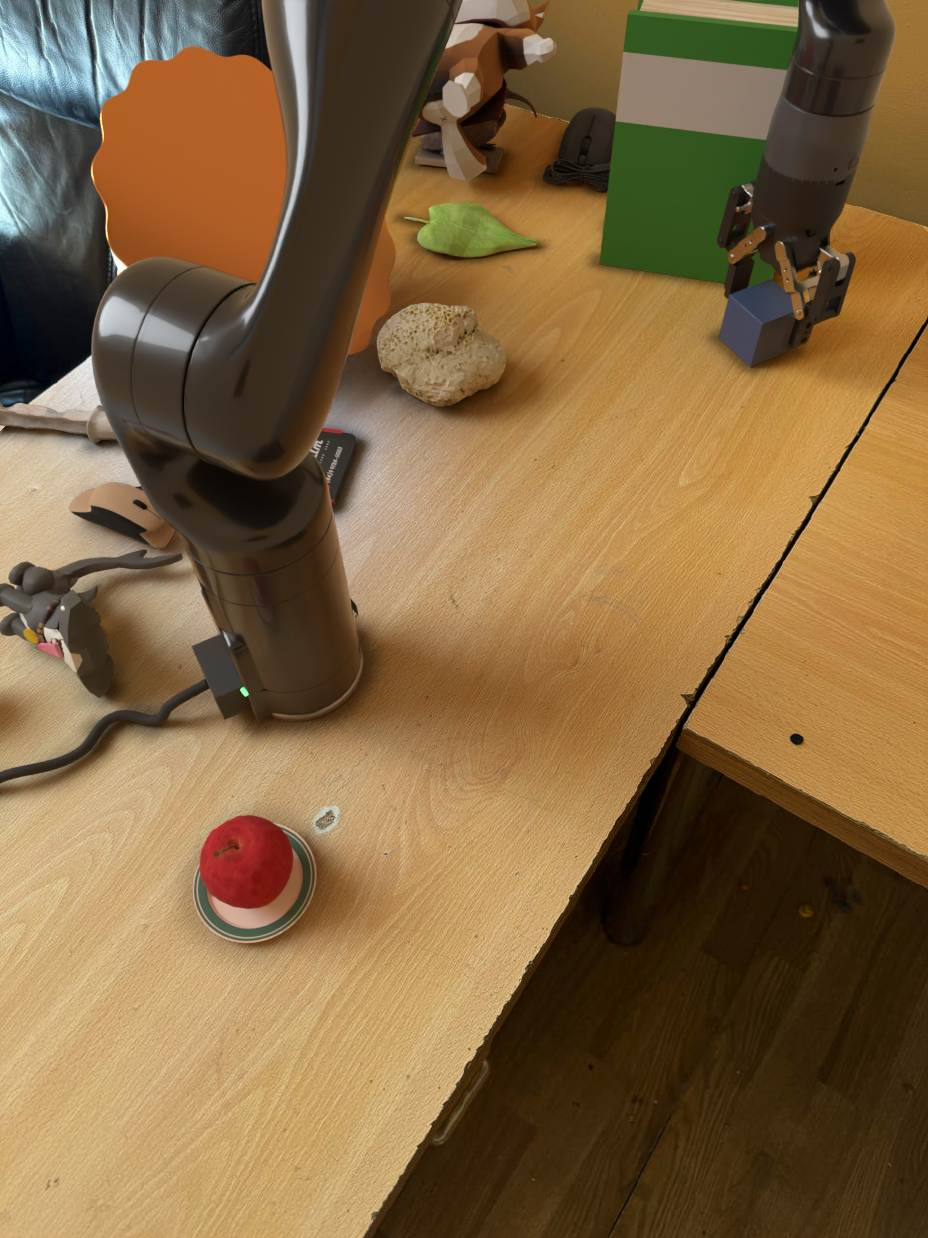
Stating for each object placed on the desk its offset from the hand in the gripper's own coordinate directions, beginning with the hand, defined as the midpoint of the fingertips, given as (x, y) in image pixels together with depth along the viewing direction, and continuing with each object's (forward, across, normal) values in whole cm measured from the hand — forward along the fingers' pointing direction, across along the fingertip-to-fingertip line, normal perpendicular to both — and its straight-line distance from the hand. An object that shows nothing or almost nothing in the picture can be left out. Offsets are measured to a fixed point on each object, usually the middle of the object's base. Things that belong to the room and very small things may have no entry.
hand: (762, 321), depth 89 cm
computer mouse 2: (+3, -37, +5) cm, 37 cm away
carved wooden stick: (+4, -18, -58) cm, 61 cm away
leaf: (+3, -30, -16) cm, 34 cm away
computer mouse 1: (+3, -8, -59) cm, 60 cm away
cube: (+3, 0, 0) cm, 3 cm away
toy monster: (+2, -1, -71) cm, 71 cm away
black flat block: (+3, -4, -42) cm, 42 cm away
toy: (-8, -34, -19) cm, 40 cm away
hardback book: (+3, -15, +3) cm, 16 cm away
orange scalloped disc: (-11, -22, -40) cm, 47 cm away
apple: (+4, +27, -62) cm, 68 cm away
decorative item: (+3, -11, -29) cm, 31 cm away
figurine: (+3, -43, -8) cm, 43 cm away
